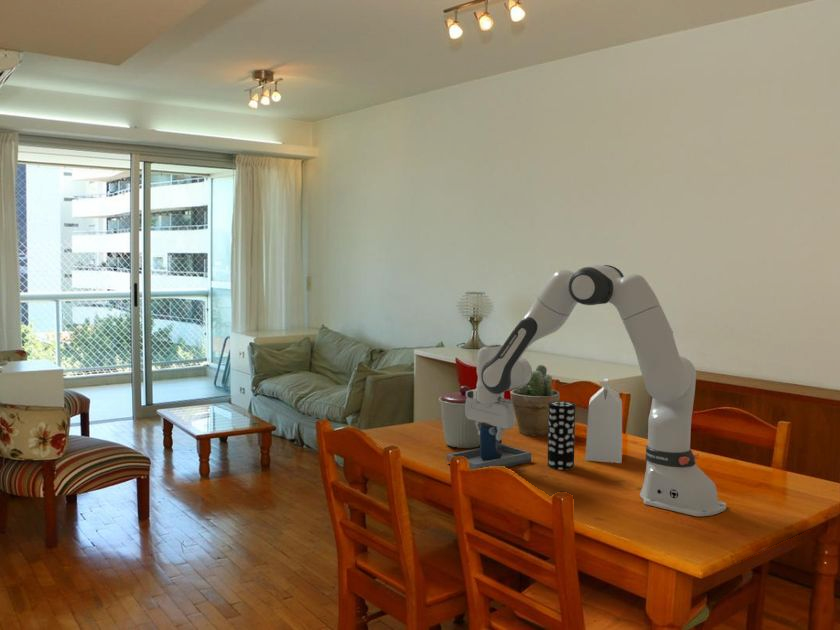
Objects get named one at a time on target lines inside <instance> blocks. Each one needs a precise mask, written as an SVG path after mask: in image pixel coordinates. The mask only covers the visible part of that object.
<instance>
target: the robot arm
mask: <svg viewBox="0 0 840 630" xmlns="http://www.w3.org/2000/svg"><path fill="white" fill-rule="evenodd" d="M608 303H609V304H612V305H613V306H614V307H615V308H616V310H617V312H618V314H619V316H620V319H621V321H622V323H623V325H624V328H625V330H626V332H627V334H628V337H629V339H630V341H631V343H632V346H633V348H634V351H635V354H636V359H637V362H638V365H639V369H640V372H641V375H642V378H643V382H644V385H643V386H644V388H645V391H646V392H647V394H648V395H649V396H650V398H651V397H652V399H651V405H650V411H649V415H648V423H647V425H648V428H647V430H648V431H647V445H646V446H645V462H646V464H645V465H646V466H645V467H646V468H645V474H644V480H643V483H642V487H641V490H640V492H639V496H640V498H641V499H642V500H643V504H645V505H647V506H652V507H655V508H660V509H664V510H669V511H673V512H677V513H681V514H684V515H689V516H694V517H707V516H708V517H709V516H714V515H716V514H721V512H724V511H725V510H727V503H726V502H723V500H722V501H721V500H720V499H719V498H718V491H717V487H716V484H715V482H714V481H713V480H712V479H710V478H709V476H707V474H706V473H705V472H703V470H702V469H701V468H699V466H697V464H696V460H697V459H699V458H700V457H699V456H700V454H699V453H698V454H693V451H692V448H691V431H692V430H691V429H692V417H693V410H694V409H693V408H694V401H695V394H696V393H695V392H696V382H697V372H696V371H697V370H696V368H695V365H694V364H693V363H692V362H691V361H690V360H689V359H687V358H686V357H684V356H681V355H680V354H679V350H678V347H677V343H676V341H675V336H674V331H673V329H672V327H671V325H670V322H669V321H668V318H667V316H666V314H665V311H664V308H663V307H662V305H661V303H660V301H659V299H658V297H657V296H656V294H655V292H654V290H653V289H652V287H651V286H650V284H649V282H648V281H647V280H646V278H644V277H643V276H642V275H639V274H627V275H625V276H624V274H623V272H622V271H621V270H620V269H619V268H617V267H615V266H612V265H609V264H604V265H600V264H594V265H591V266H586V267H582V268H580V269H577V271H575V272H574V271H572V270H569V269H560V270H559V269H558V270H556V271H555V272H554V273H553V274H552V275H551V276H550V277H549V279H548V280H547V281H546V282H545V283H544V285H543V286H542V288H541V290H540V291H539V293H538V295H536V297H535V299H534V302H533V303H532V304H531V306H530V308H529V309H528V310H527V312H526V313H525V315H524V316H523V317H522V318H521V320H520V321H519V322H518V324H517V325H516V326H515V328H513V330H512V332H511V333H510V334H509V336H508V337H507V338H506V341H505V342H504V343H503V345H501V344H492V345H485V346H482V347H480V349H479V350H478V353H477V359H476V375H477V382H476V388H475V389H470V391H466V397H467V399H466V404H465V414H466V417H467V419H470V420H474V421H475V424H476V427H477V429H478V435H480V427H481V425H482V423H485V424H490V425H492V426H496V427H497V430H498V432H497V434H496V435H495V440H498V441H500V440H501V439H502V438H503V436H502V435H503V434H504V432H505V430H510V429H514V427H515V426H516V416H515V412H514V407H513V404H512V402H511V399H508V398H505V392H507V391H512V390H516V389H518V388H519V387H523V386H525V385H527V384H528V383H529V382H530V380H531V377H532V372H533V370H532V367H531V364H530V363H529V362H528V360H527V359H525V358H523V357H522V356H523V355H524V353H525V352H526V350H527V349H528V348H529V346H531V345H532V344H533V343H535V342H536V341H538V340H540V339H542V338H544V337H546V336H549V335H551V334H554V333H556V332H557V331H558V330H559V329H560V328H561V327H562V326H564V324H565V323H566V322H567V320H568V318H569V317H570V315H571V313H572V312H573V310H574V308H575V307H576V305H578V304H581V305H584V306H595V305H605V304H608ZM502 440H503V439H502ZM718 499H719V500H718Z"/></svg>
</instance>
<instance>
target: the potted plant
mask: <svg viewBox="0 0 840 630" xmlns="http://www.w3.org/2000/svg"><path fill="white" fill-rule="evenodd" d="M547 372H548V370H547V367H546V366H545V365H543V364H538V365H537V366H536V368H535V369H534V370H532V377H531V380H530V382H529V383H528V384H527V385H525V386H523V387H519V388H516V389H512V390H510V391H509V392H510V401H511V402H512V404H513V408H514V413H515V421H516V423H517V429H518V432H520V433H521V434H522V435H524V434H525V436H529V435H532V436H531V437H534V436H533V435H536V436H535V437H540V436H539V435H543V436H548V435H547V434H548V410H549V403H550V402H556V401H560V395H561V393H560V391H558V390H556V389H552V382H553V377H552V375H550V374H547Z"/></svg>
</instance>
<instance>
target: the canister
mask: <svg viewBox="0 0 840 630" xmlns="http://www.w3.org/2000/svg"><path fill="white" fill-rule="evenodd" d="M470 390H471V389H470V387H469V386H467V385H462V386H460V387H459V391H455V392H447V393H445V394H443V395H442V396H440V397H438V401H439V402H440V411H441V421H442V422H441V423H442V430H443V437H444V441H445V443H446V444H447V445H448V446H449V447H452V448H455V447H457V448H456V449H475V448H478V447H480V435H478V429H477V427H476V424H475V421H474V420H470V419H467V417H466V414H465V404H466V399H467V397H466V391H470Z"/></svg>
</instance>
